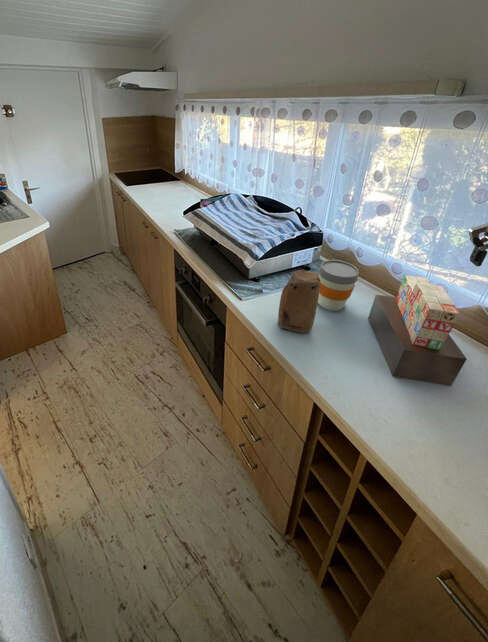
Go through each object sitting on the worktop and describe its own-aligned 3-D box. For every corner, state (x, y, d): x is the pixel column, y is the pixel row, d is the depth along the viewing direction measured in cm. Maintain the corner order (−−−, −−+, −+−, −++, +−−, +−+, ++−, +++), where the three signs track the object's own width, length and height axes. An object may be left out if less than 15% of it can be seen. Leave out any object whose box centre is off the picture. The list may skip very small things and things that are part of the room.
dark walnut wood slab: (413, 324, 102) (424, 300, 97) (451, 386, 81) (467, 358, 76) (367, 318, 105) (375, 294, 100) (392, 376, 84) (404, 349, 79)
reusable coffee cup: (327, 289, 120) (335, 256, 113) (356, 306, 111) (367, 271, 104) (305, 299, 115) (312, 265, 108) (334, 318, 105) (343, 281, 98)
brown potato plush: (309, 321, 104) (320, 271, 95) (311, 336, 98) (324, 284, 88) (276, 316, 107) (284, 267, 97) (277, 330, 100) (285, 279, 91)
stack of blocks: (394, 299, 98) (407, 266, 92) (417, 303, 96) (432, 269, 90) (412, 345, 80) (429, 307, 74) (441, 351, 78) (460, 313, 72)
